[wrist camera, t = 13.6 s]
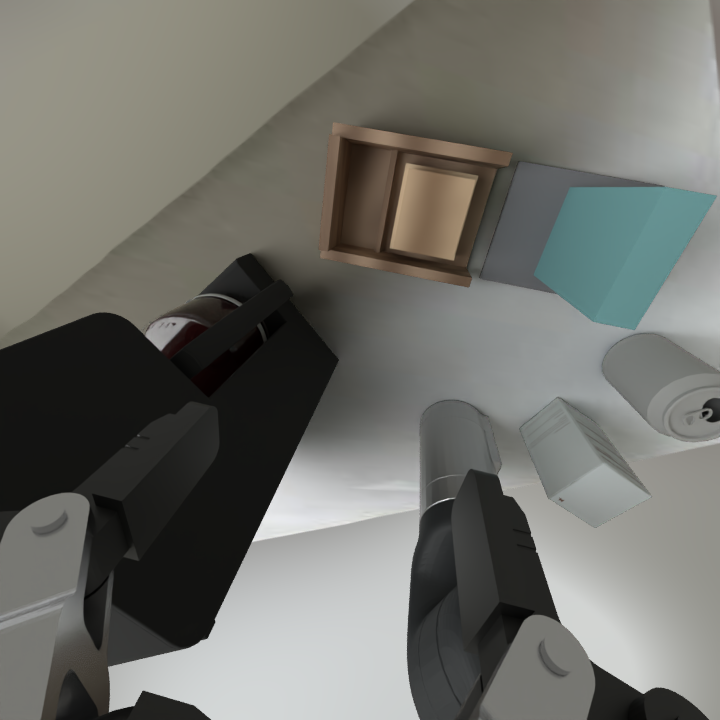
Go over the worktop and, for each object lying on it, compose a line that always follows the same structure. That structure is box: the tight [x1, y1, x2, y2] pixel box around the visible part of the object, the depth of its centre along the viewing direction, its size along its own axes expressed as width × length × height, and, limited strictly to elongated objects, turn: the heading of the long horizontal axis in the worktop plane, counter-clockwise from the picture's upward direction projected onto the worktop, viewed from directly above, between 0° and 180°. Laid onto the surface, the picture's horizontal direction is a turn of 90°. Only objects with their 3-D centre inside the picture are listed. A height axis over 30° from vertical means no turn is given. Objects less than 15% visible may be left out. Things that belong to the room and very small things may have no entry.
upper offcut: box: [393, 168, 476, 260], centre depth 32 cm, size 6×7×3 cm
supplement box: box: [520, 397, 652, 528], centre depth 41 cm, size 7×7×13 cm
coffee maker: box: [0, 254, 339, 666], centre depth 34 cm, size 28×20×35 cm
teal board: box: [534, 187, 717, 330], centre depth 29 cm, size 3×9×15 cm, turn 171°
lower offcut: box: [390, 163, 478, 261], centre depth 35 cm, size 7×8×3 cm
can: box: [602, 334, 720, 442], centre depth 36 cm, size 8×8×12 cm
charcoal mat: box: [479, 161, 665, 294], centre depth 36 cm, size 14×12×1 cm
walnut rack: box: [319, 122, 513, 287], centre depth 34 cm, size 16×12×7 cm
